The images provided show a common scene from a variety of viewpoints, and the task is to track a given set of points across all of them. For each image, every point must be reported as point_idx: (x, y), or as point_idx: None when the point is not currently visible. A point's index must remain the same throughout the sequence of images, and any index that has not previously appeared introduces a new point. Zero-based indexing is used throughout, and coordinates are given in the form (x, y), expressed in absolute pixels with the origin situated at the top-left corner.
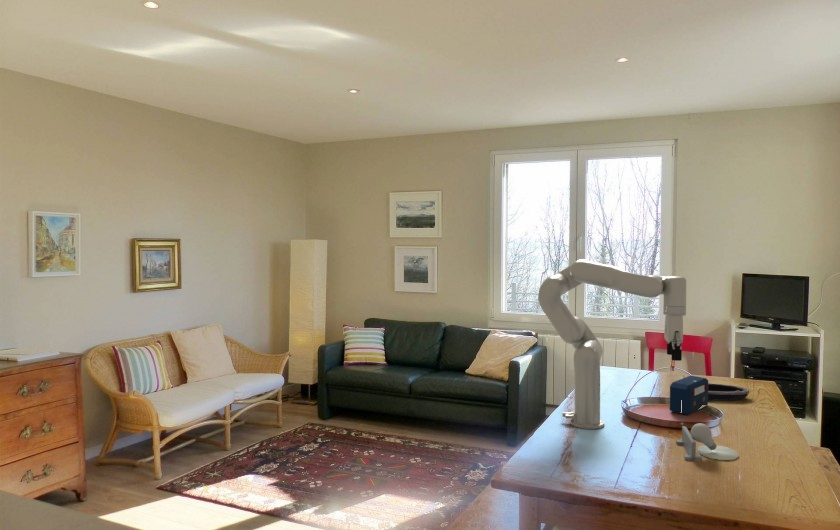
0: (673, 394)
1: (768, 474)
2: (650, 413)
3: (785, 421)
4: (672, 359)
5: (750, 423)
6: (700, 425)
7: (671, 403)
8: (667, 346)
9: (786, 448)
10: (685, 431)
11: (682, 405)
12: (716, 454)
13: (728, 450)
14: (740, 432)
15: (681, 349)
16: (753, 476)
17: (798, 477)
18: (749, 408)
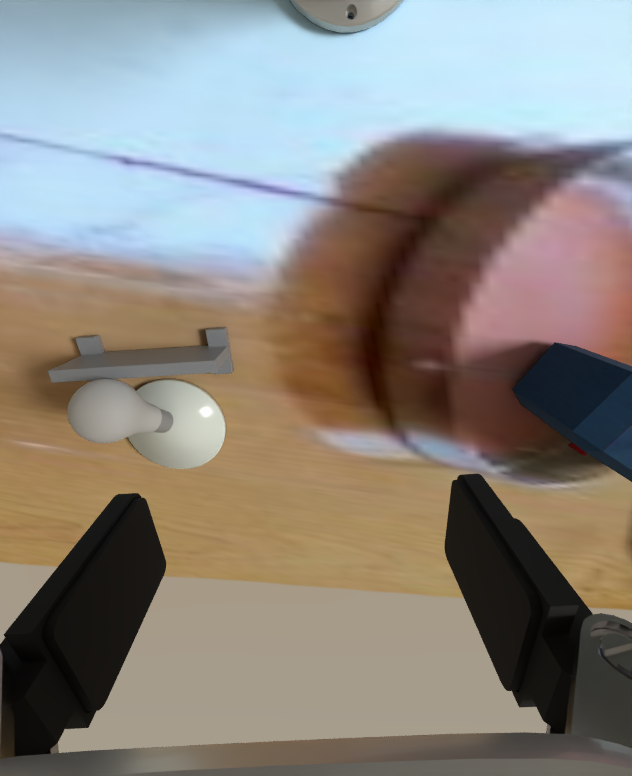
0: (590, 374)
1: (86, 500)
2: (538, 268)
3: None
4: (119, 502)
5: None
6: (74, 421)
7: (567, 355)
8: (517, 564)
9: (277, 559)
10: (156, 364)
11: (535, 390)
12: None
13: (192, 452)
14: (371, 498)
15: (66, 727)
16: (54, 472)
17: None
18: (587, 550)
